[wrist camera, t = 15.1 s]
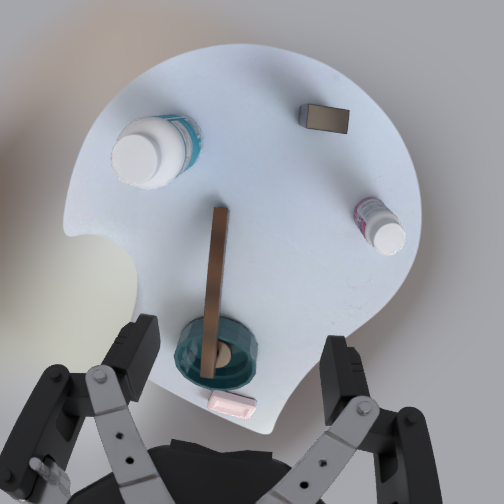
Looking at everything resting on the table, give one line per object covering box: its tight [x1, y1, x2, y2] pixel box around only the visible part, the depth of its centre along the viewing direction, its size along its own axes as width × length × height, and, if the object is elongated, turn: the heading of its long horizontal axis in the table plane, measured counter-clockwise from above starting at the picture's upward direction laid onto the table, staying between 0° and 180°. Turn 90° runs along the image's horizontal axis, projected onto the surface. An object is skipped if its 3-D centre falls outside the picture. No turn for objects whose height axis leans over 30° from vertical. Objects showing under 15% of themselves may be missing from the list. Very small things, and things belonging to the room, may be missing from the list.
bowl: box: [174, 318, 258, 391], centre depth 48 cm, size 13×13×5 cm
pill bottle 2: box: [354, 198, 406, 255], centre depth 35 cm, size 5×5×8 cm
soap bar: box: [207, 390, 257, 419], centre depth 57 cm, size 5×9×2 cm, turn 70°
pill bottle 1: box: [111, 115, 204, 190], centre depth 30 cm, size 8×7×14 cm
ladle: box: [200, 207, 232, 379], centre depth 44 cm, size 24×5×11 cm, turn 176°
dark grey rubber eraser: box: [299, 104, 350, 134], centre depth 30 cm, size 2×4×9 cm, turn 86°
